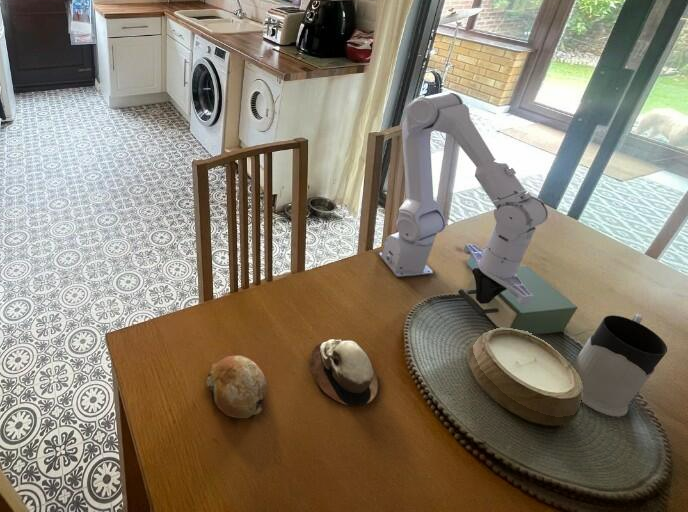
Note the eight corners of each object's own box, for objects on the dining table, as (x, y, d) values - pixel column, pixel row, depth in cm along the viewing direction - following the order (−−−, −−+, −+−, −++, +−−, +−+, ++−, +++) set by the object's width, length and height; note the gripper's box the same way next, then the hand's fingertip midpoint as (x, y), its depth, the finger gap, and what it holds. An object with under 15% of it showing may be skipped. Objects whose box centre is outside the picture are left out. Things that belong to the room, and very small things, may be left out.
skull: (293, 348, 80) (330, 313, 79) (323, 364, 85) (358, 331, 83) (328, 409, 70) (371, 370, 68) (360, 423, 74) (401, 387, 72)
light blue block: (480, 278, 98) (486, 264, 97) (465, 263, 103) (471, 250, 101) (498, 276, 99) (504, 262, 97) (483, 262, 103) (488, 248, 101)
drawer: (482, 334, 83) (491, 316, 81) (446, 294, 93) (453, 277, 90) (552, 327, 85) (563, 309, 83) (510, 288, 94) (518, 271, 92)
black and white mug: (556, 385, 75) (592, 329, 68) (577, 344, 83) (611, 290, 76) (622, 427, 69) (668, 369, 62) (638, 378, 76) (681, 322, 70)
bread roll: (239, 439, 70) (262, 426, 65) (193, 394, 72) (211, 378, 68) (260, 390, 78) (282, 375, 73) (218, 350, 80) (236, 333, 75)
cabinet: (508, 337, 84) (521, 313, 81) (466, 293, 94) (476, 269, 91) (563, 331, 85) (578, 307, 82) (515, 288, 96) (526, 265, 93)
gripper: (557, 276, 75) (529, 328, 81) (492, 226, 88) (473, 273, 94) (522, 280, 74) (497, 332, 80) (462, 228, 87) (444, 276, 93)
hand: (482, 300), depth 87 cm, fingers closed
